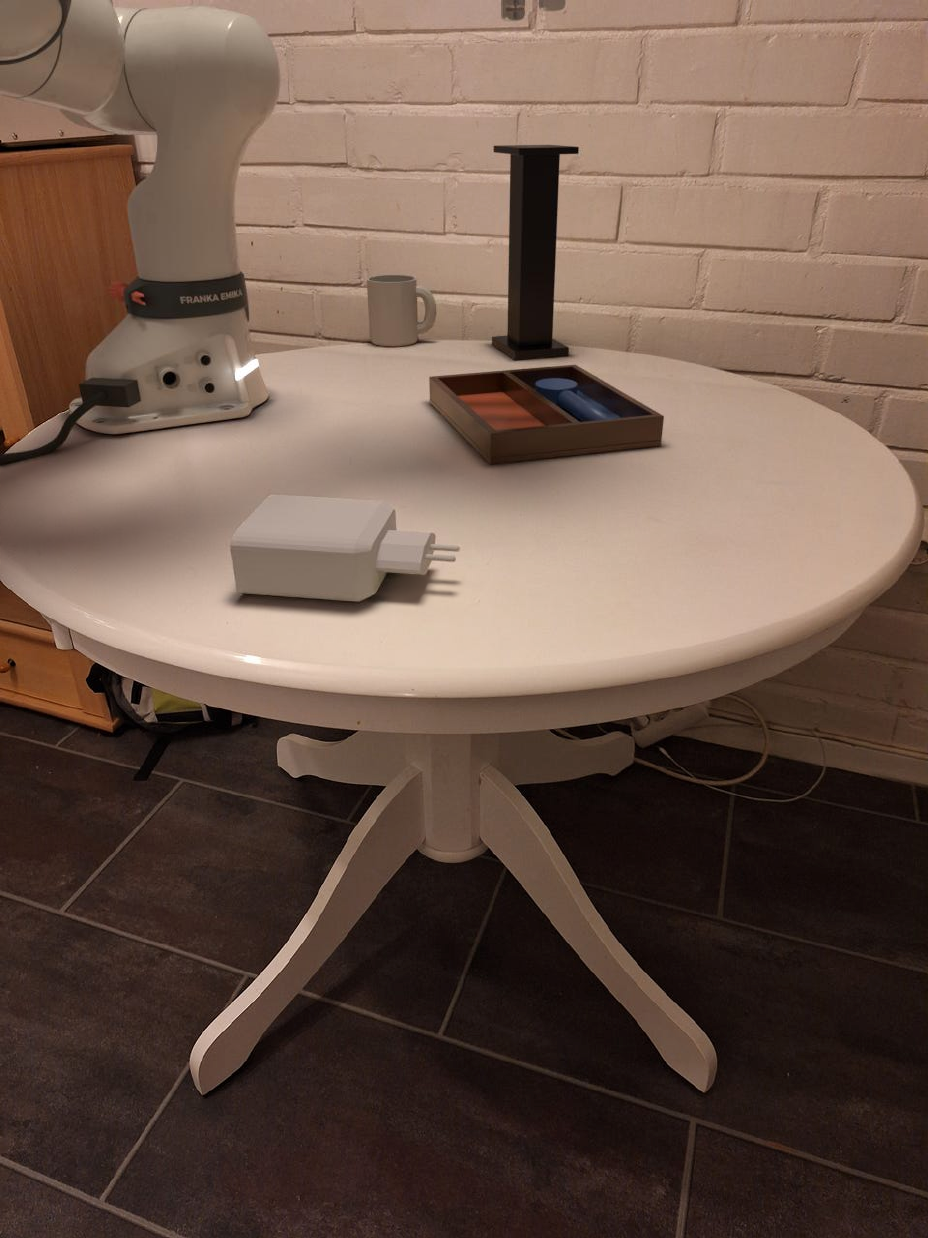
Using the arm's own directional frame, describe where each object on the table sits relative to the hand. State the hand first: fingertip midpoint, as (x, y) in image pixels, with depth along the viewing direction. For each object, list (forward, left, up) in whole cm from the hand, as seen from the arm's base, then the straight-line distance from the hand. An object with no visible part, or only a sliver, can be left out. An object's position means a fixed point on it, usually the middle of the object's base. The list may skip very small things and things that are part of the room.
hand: (531, 15), depth 78 cm
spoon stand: (+26, +29, -37) cm, 54 cm away
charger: (-31, -19, -37) cm, 52 cm away
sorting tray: (+4, +2, -37) cm, 37 cm away
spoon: (+7, -1, -36) cm, 37 cm away
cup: (+15, +45, -37) cm, 60 cm away
